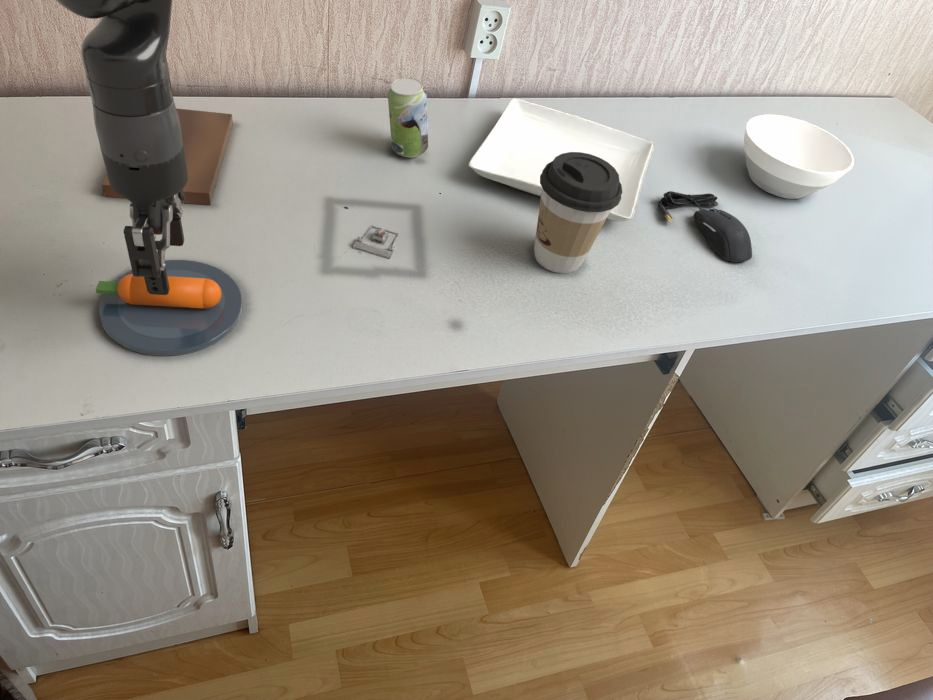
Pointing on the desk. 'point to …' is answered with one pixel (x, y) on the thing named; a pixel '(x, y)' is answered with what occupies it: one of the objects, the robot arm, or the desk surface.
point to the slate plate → (173, 316)
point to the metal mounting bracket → (374, 250)
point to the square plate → (559, 150)
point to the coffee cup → (573, 208)
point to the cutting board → (198, 153)
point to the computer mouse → (713, 225)
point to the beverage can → (408, 117)
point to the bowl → (793, 156)
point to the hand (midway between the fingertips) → (167, 267)
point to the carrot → (180, 294)
